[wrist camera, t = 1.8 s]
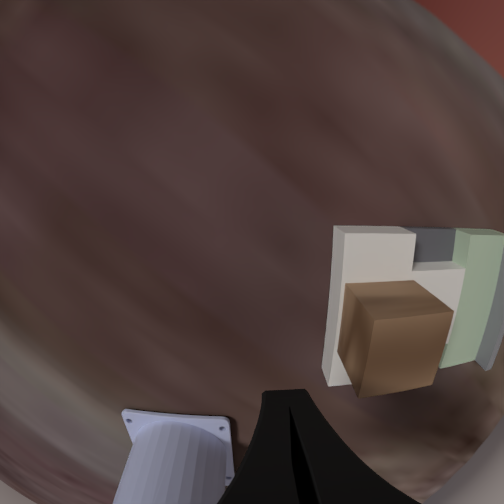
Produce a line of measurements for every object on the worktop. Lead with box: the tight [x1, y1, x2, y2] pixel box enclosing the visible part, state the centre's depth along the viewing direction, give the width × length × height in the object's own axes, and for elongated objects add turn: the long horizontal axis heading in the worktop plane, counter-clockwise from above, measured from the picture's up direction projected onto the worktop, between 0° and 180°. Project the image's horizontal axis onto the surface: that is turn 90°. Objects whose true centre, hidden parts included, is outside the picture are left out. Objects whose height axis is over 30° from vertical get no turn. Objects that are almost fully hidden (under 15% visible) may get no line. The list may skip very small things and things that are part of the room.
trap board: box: [322, 226, 504, 386], centre depth 16 cm, size 9×12×4 cm
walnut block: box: [337, 280, 454, 398], centre depth 13 cm, size 4×4×4 cm
